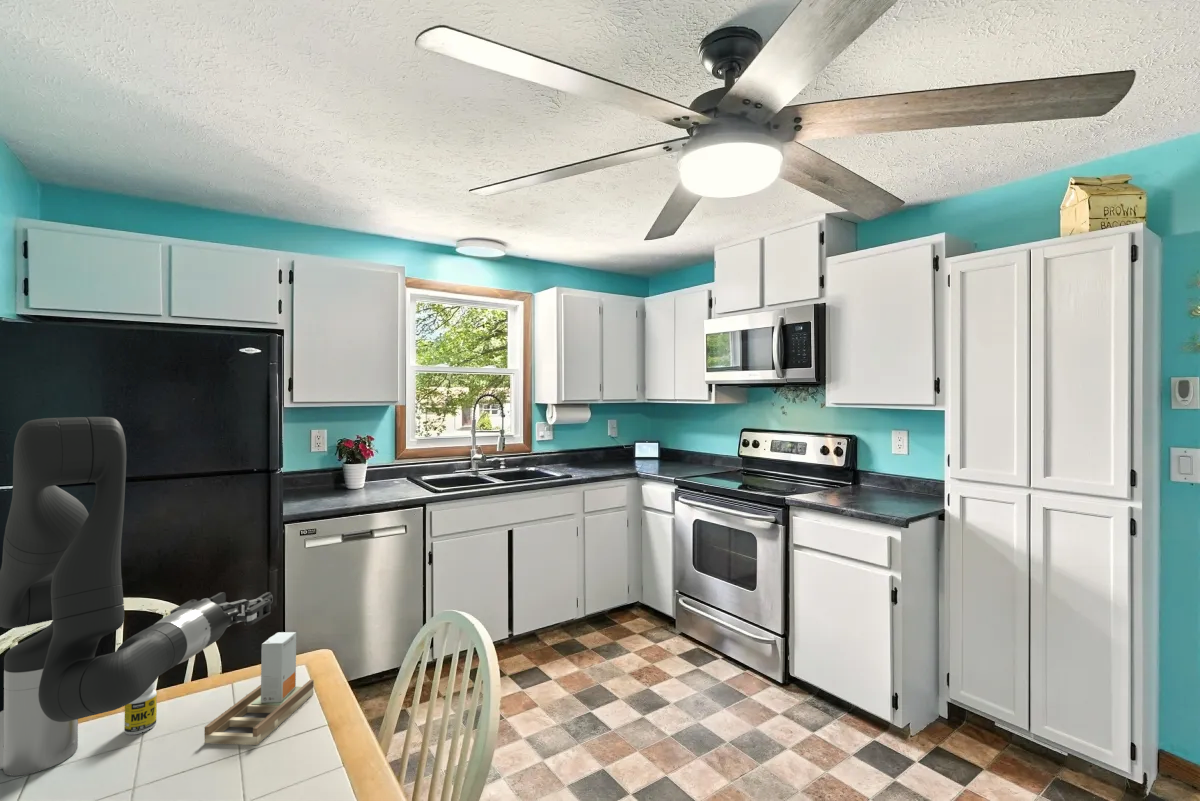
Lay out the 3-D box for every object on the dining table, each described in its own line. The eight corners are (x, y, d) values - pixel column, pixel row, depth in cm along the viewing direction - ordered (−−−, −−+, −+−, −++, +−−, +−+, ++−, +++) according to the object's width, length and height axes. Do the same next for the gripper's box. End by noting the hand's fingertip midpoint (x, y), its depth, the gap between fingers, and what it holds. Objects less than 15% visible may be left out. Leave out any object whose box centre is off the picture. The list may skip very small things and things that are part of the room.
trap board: (204, 743, 103) (204, 726, 103) (268, 692, 120) (268, 678, 121) (256, 745, 102) (257, 728, 102) (313, 694, 120) (313, 680, 120)
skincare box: (281, 703, 113) (281, 643, 113) (260, 703, 113) (260, 644, 113) (297, 687, 119) (297, 631, 119) (276, 688, 119) (276, 631, 119)
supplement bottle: (128, 738, 104) (128, 693, 104) (121, 729, 107) (121, 685, 107) (160, 726, 108) (160, 682, 108) (152, 718, 111) (152, 675, 111)
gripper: (230, 609, 89) (285, 577, 106) (139, 609, 89) (208, 577, 105) (230, 656, 89) (285, 617, 106) (139, 657, 89) (208, 617, 105)
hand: (246, 597), depth 105 cm, fingers open, 8 cm apart
